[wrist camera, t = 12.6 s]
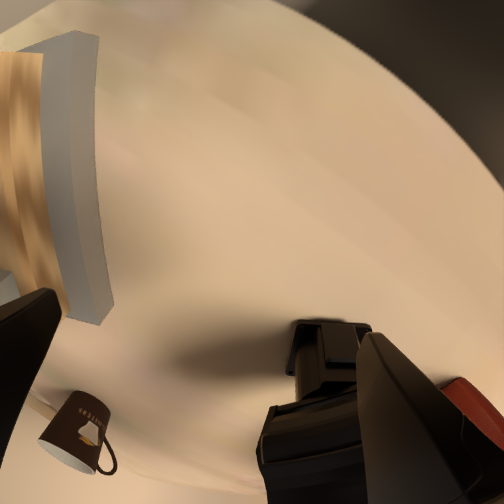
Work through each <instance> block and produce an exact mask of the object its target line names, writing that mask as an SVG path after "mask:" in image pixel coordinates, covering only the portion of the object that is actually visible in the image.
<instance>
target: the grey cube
mask: <svg viewBox="0 0 504 504" xmlns="http://www.w3.org/2000/svg"><path fill="white" fill-rule="evenodd" d="M19 297H21V296H20V294H19V291H18V288H17V285H16V282H15V279H14V275H13V272H11V271H7V270H4V269H0V306H1V305H3V304H6V303H8V302H10V301H12V300H15V299H17V298H19Z"/></svg>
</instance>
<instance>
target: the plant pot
mask: <svg viewBox="0 0 504 504" xmlns="http://www.w3.org/2000/svg"><path fill="white" fill-rule="evenodd" d="M441 391H442V392H443V393H444V394H445V395H446V396H447V397H448V398H449V399H450V400H451V401H452V402H453V403H454V404H455V405H456V406H457V407H458V408H459V409H460V410H461V411H462V412H463V414H465V415H466V416H467V417H468V418H469V419H470V420H471V421H472V422H473V423H474V424H475V425H476V426H477V427H478V428H479V429H480V430H481V431H482V432H483V433H484V434H485V435H486V436H487V437H488V438H490V439H491V440H492V441H493V442H494V443H495V444H496V445H497V446H498V447H500V448H501V449H502V450H503V451H504V417H503V416H502V415H501V414H500V412H499V411H498V410H497V409H496V408H495V407H494V406H493V405H492V404H491V403H490V402H489V400H488V399H487V398H486V397H485V396H484V395H483V394H482V393H481V392H480V391H479V390H478V389H477V388H475V387H474V386H473V385H472V384H471V383H470V382H469V381H467V380H466V379H465V378H459V379H457V380H455V381H454V382H452V383H451V384H449V385H448V386H446V387H445V388H443V389H442V390H441Z"/></svg>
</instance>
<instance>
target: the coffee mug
mask: <svg viewBox="0 0 504 504" xmlns="http://www.w3.org/2000/svg"><path fill="white" fill-rule="evenodd" d="M110 415H111V413H110V410H109V409H108V408H107V407H106V405H104V404H103V403H102V402H101V401H100V400H98V399H97V398H95V397H94V396H92V395H90V394H88V393H85V392H82V391H74V392H73V393H72V394H71V395H70V397H69V398H68V399H67V401H66V402H65V403H64V405H63V406H62V407H61V409H60V410H59V411H58V413H57V414H56V415H55V417H54V418H53V420H52V421H51V422H50V424H49V425H48V427H47V428H46V429H45V431H44V432H43V433H42V435H41V436H40V438H39V439H38V443H39V444H40V445H41V447H42V448H43V449H45V450H46V451H47V452H48V453H49V454H51V455H52V456H53V457H55V458H56V459H58V460H60V461H61V462H63V463H64V464H66V465H68V466H70V467H72V468H74V469H76V470H78V471H81V472H83V473H86V474H90V475H95V472H96V469H97V470H98V471H99V472H100V473H101V474H104V475H113V474H114V473H115V472H116V470H117V461H116V457H115V455H114V452H113V450H112V448H111V446H110V444H109V442H108V441H107V439H106V437H105V433H106V429H107V425H108V422H109V418H110ZM103 441H104V443H105V445H106V446H107V448H108V450H109V452H110V454H111V456H112V460H113V464H114V466H113V469H112V470H111V471H110V472H105V471H103V470H102V469H101V468H100V467H99V465H98V460H99V456H100V452H101V448H102V444H103Z"/></svg>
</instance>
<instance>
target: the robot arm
mask: <svg viewBox="0 0 504 504" xmlns="http://www.w3.org/2000/svg"><path fill="white" fill-rule="evenodd" d="M61 318H62V309H61V306H60V303H59V300H58V296H57V293H56V291H55V290H54V289H51V288H47V287H42V288H40V289H38V290H35V291H33V292H31V293H28V294H26V295H24V296H21V297H19V298H17V299H15V300H12V301H10V302H8V303H6V304H3V305H1V306H0V468H1V465H2V461H3V458H4V455H5V451H6V448H7V446H8V443H9V440H10V437H11V434H12V431H13V429H14V426H15V424H16V421H17V419H18V416H19V414H20V411H21V409H22V407H23V404H24V402H25V399H26V397H27V395H28V393H29V390H30V388H31V386H32V384H33V382H34V379H35V377H36V375H37V373H38V371H39V369H40V367H41V365H42V363H43V361H44V359H45V356H46V354H47V352H48V349H49V347H50V344H51V342H52V339H53V337H54V334H55V332H56V330H57V327H58V325H59V323H60V320H61ZM300 326H304V327H300ZM365 330H367V331H365ZM285 373H286V375H288V376H295V393H296V402H293V403H289V404H285V405H281V406H278V405H275V406H271V407H270V408H269V411H268V414H267V417H266V420H265V423H264V426H263V429H262V432H261V435H260V438H259V441H258V445H257V448H256V455H257V462H258V466H259V469H260V472H261V474H262V476H263V479H264V482H265V487H266V491H267V500H268V504H504V451H503V450H502V449H501V448H500V447H498V446H497V445H496V444H495V443H494V442H493V441H492V440H491V439H490V438H488V437H487V436H486V435H485V434H484V433H483V432H482V431H481V430H480V429H479V428H478V427H477V426H476V425H475V424H474V423H473V422H472V421H471V420H470V419H469V418H468V417H467V416H466V415H465V414H463V412H462V411H461V410H460V409H459V408H458V407H457V406H456V405H455V404H454V403H453V402H452V401H451V400H450V399H449V398H448V397H447V396H446V395H445V394H444V393H443V392H442V391H441V390H440V389H439V388H438V387H437V386H436V385H435V384H434V383H433V382H432V381H431V380H430V379H429V378H428V377H427V376H426V375H425V374H424V373H423V372H422V371H421V370H420V369H419V368H418V367H416V366H415V365H414V364H413V363H412V362H411V361H410V360H409V359H408V358H407V357H406V356H405V355H404V354H403V353H402V352H401V351H400V350H399V349H398V348H397V347H396V346H395V345H394V344H393V343H392V342H390V341H389V340H388V339H387V338H386V337H385V336H384V335H383V334H382V333H379V332H372V328H371V326H370V325H366V324H348V323H332V322H318V321H306V320H300V321H298V322H297V323H296V325H295V330H294V334H293V339H292V343H291V347H290V352H289V356H288V360H287V364H286V368H285Z"/></svg>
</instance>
